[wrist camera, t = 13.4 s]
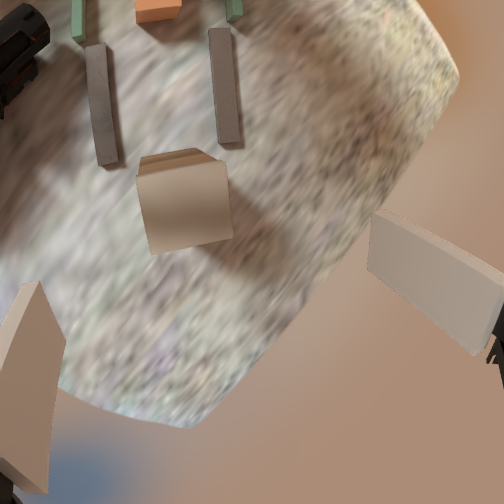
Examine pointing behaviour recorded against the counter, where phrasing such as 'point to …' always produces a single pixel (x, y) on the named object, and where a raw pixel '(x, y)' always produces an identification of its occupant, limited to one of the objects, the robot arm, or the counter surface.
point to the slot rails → (221, 90)
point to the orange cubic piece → (156, 10)
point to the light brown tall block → (184, 200)
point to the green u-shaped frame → (79, 16)
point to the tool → (20, 50)
